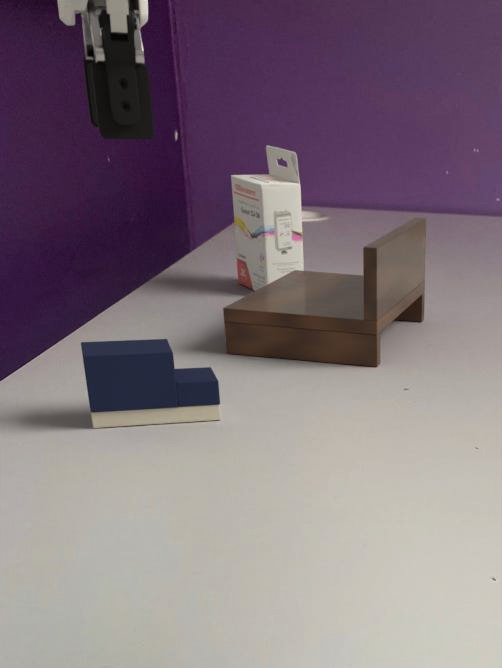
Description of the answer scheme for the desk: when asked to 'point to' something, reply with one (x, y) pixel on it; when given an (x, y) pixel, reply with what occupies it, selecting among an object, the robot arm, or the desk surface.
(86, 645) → the desk surface
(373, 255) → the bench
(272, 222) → the ink cartridge box
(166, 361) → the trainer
